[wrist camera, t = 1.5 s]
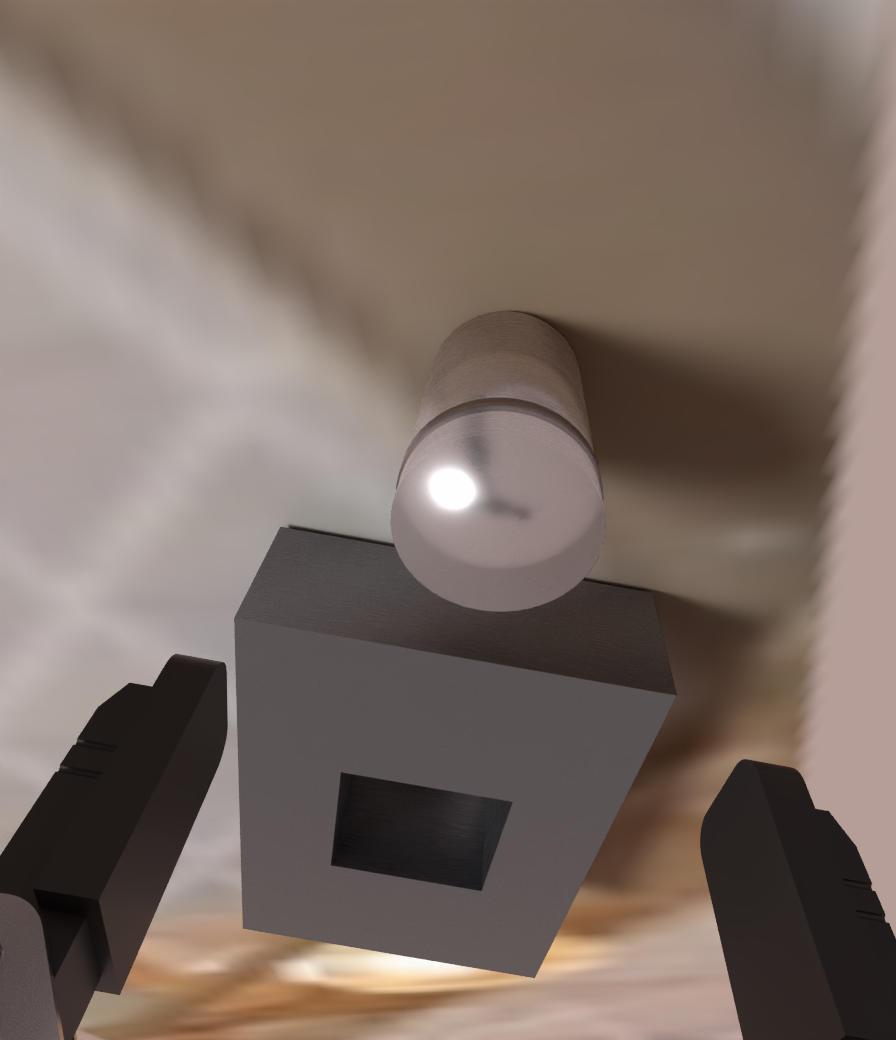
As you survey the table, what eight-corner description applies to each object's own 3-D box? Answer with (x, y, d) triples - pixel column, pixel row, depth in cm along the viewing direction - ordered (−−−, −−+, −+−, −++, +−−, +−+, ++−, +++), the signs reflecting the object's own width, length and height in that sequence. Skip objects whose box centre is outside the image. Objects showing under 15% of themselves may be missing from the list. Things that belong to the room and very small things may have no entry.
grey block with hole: (280, 526, 26) (234, 618, 22) (652, 592, 26) (676, 695, 22) (274, 830, 37) (243, 928, 33) (533, 875, 37) (534, 977, 33)
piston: (440, 296, 21) (401, 412, 14) (600, 325, 21) (636, 455, 14) (419, 439, 23) (378, 593, 17) (560, 464, 23) (575, 628, 17)
